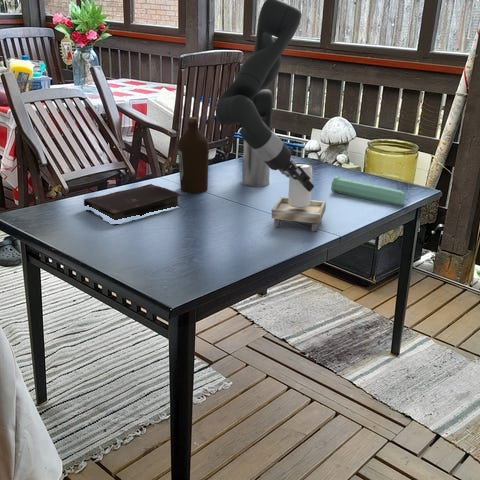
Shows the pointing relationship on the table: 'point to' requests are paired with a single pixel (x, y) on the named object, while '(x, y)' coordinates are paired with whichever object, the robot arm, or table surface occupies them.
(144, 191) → the diary
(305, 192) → the can
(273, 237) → the table surface
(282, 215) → the shallow wooden tray
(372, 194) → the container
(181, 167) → the olive oil
